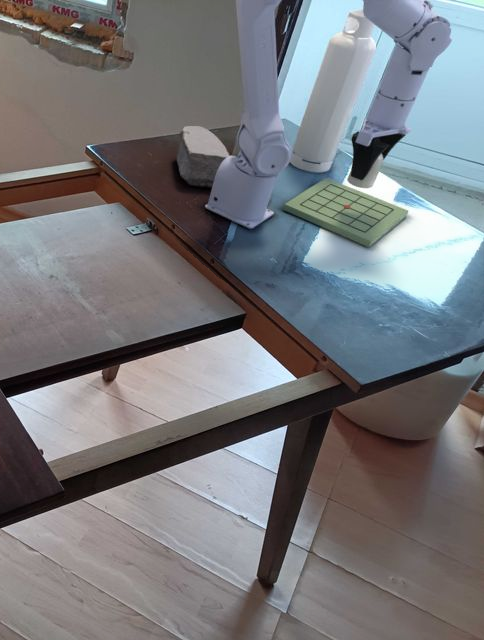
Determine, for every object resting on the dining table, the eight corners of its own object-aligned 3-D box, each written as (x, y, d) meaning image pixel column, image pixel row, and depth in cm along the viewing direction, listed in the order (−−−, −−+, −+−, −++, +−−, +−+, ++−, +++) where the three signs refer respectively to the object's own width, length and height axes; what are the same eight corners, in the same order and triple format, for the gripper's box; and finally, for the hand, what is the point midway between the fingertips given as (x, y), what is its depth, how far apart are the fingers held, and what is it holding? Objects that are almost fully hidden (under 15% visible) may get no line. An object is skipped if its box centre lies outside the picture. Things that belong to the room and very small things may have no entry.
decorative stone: (196, 197, 124) (241, 187, 127) (203, 161, 120) (250, 152, 123) (153, 162, 135) (196, 154, 138) (158, 128, 130) (202, 121, 133)
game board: (282, 209, 122) (284, 203, 121) (323, 183, 131) (325, 176, 130) (368, 247, 114) (371, 240, 113) (406, 216, 123) (409, 210, 122)
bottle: (339, 169, 136) (398, 19, 118) (307, 174, 134) (363, 22, 115) (311, 152, 142) (364, 5, 123) (280, 156, 139) (329, 8, 121)
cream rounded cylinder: (342, 181, 117) (356, 147, 113) (353, 174, 120) (367, 141, 115) (366, 190, 115) (381, 156, 111) (376, 183, 117) (391, 149, 113)
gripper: (403, 113, 101) (367, 195, 110) (439, 91, 109) (403, 170, 118) (358, 98, 105) (326, 179, 114) (396, 78, 113) (364, 155, 122)
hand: (362, 173), depth 116 cm, fingers closed on cream rounded cylinder, 4 cm apart
